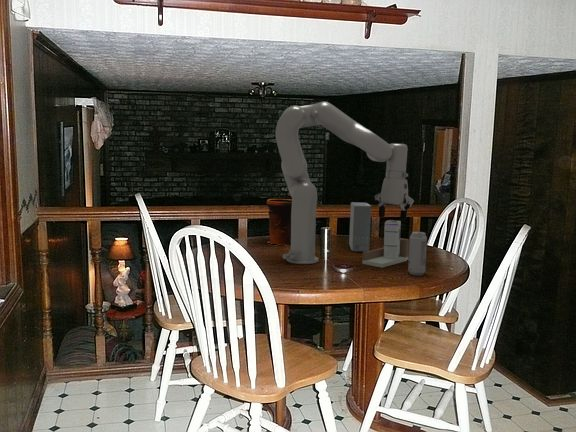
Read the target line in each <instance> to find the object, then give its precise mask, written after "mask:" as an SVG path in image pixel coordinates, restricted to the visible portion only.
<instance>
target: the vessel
mask: <svg viewBox="0 0 576 432" xmlns="http://www.w3.org/2000/svg"><path fill="white" fill-rule="evenodd" d="M266 206H267V207H268V216H269V220H268V222H269V224H268V225H269V228H268V232H269V241H267V244H268V243H271V244H277V245H285V246H291V210H292V199H290V198H287V199H286V198H269V199H267V200H266ZM271 244H270V245H271ZM277 245H276V246H277Z"/></svg>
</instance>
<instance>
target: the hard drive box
mask: <svg viewBox="0 0 576 432" xmlns="http://www.w3.org/2000/svg"><path fill="white" fill-rule="evenodd" d="M371 219H372V205H371V204H369V203H367V202H358V201H357V202H355V201H354V202H353V201H352V202H350V217H349V237H348V238H349V239H348V241H349V242H348V243H349V244H348V245H349V247H350V250H351V251H352V252H367V251H370V245H371V244H370V243H371V242H370V241H371V223H372V222H371Z"/></svg>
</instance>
